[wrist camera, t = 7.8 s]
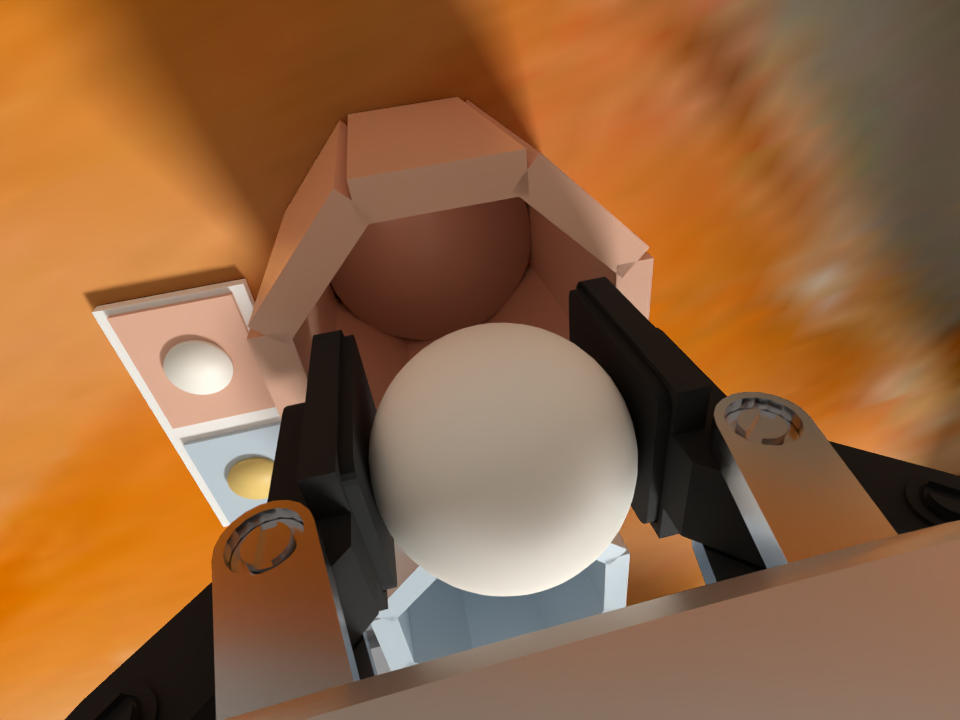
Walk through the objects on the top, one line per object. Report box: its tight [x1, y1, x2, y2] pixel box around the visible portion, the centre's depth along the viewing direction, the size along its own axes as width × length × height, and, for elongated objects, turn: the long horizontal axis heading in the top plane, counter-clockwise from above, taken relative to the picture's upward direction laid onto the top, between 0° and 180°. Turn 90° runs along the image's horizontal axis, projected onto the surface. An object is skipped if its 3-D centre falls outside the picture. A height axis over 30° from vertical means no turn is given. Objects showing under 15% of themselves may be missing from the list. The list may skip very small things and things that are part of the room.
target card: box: [92, 279, 281, 527], centre depth 19 cm, size 4×10×1 cm, turn 6°
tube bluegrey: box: [371, 532, 630, 671], centre depth 20 cm, size 8×8×7 cm
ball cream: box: [368, 323, 638, 596], centre depth 9 cm, size 4×4×4 cm
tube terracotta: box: [247, 97, 654, 418], centre depth 14 cm, size 8×8×7 cm
